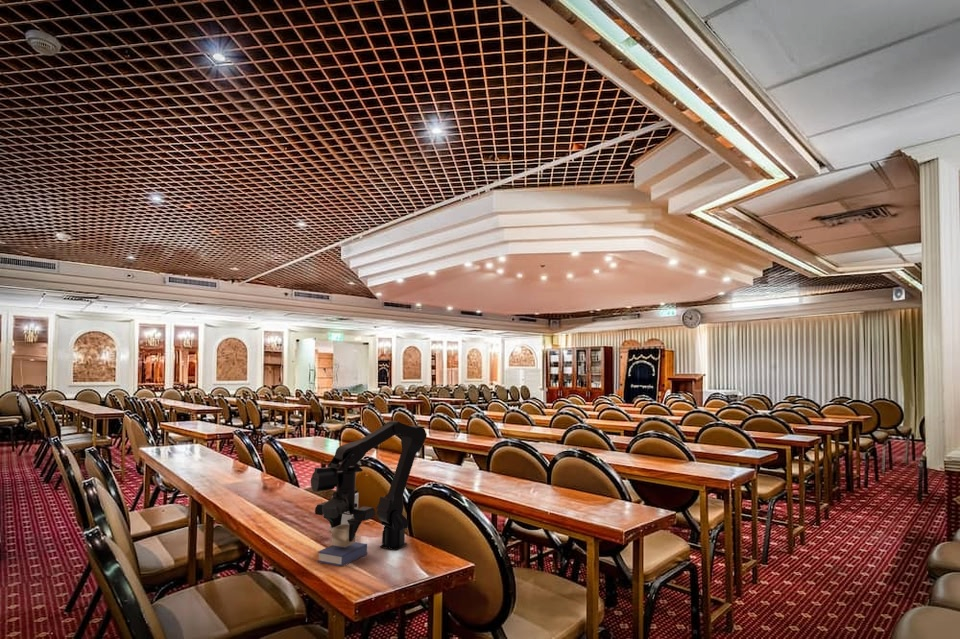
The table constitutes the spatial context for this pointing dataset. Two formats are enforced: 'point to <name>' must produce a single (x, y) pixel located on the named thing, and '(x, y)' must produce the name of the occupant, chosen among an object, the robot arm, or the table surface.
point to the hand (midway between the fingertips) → (343, 540)
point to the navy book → (342, 554)
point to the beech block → (341, 536)
